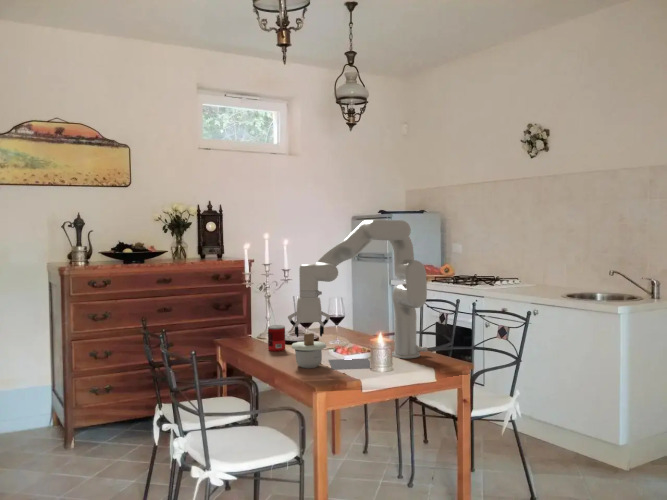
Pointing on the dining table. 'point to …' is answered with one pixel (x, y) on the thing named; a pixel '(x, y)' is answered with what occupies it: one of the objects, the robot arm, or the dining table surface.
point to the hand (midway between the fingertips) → (309, 336)
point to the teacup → (308, 358)
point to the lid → (308, 343)
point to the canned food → (276, 338)
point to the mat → (349, 364)
